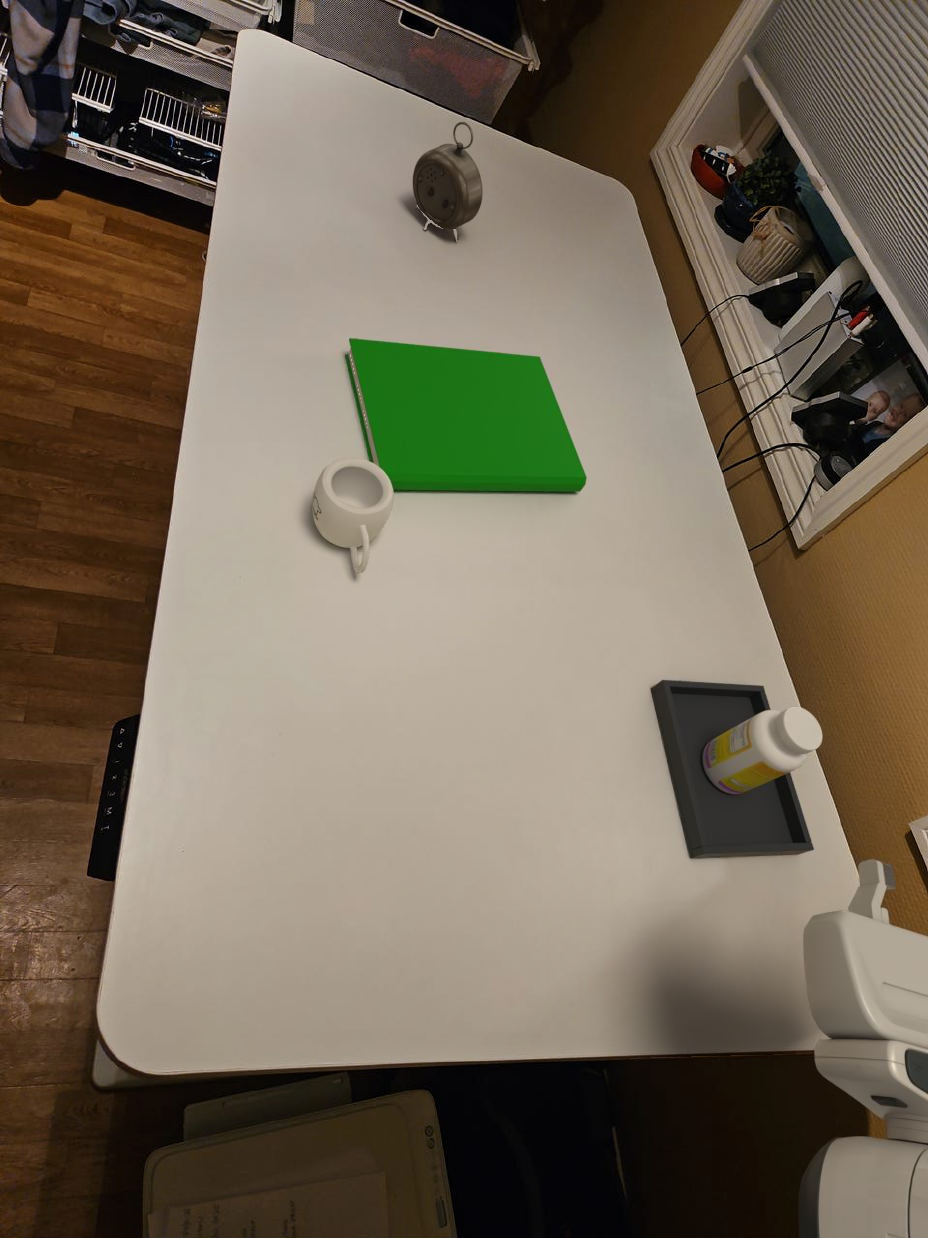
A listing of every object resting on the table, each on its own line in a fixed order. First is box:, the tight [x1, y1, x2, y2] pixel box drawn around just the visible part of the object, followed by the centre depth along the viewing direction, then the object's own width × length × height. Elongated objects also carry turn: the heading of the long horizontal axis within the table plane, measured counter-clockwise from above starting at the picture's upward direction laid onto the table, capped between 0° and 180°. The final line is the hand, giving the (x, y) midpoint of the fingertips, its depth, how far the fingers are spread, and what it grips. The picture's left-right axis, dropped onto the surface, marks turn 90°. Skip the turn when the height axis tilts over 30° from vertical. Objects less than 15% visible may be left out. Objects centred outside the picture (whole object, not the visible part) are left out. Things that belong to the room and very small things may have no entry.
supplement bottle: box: [702, 706, 823, 794], centre depth 78 cm, size 7×7×13 cm
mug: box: [311, 456, 395, 574], centre depth 78 cm, size 12×8×8 cm
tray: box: [650, 679, 815, 860], centre depth 82 cm, size 20×15×3 cm
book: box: [344, 337, 588, 493], centre depth 95 cm, size 22×28×3 cm
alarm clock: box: [412, 121, 484, 231], centre depth 109 cm, size 11×5×16 cm, turn 51°
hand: (927, 880), depth 53 cm, fingers open, 8 cm apart
